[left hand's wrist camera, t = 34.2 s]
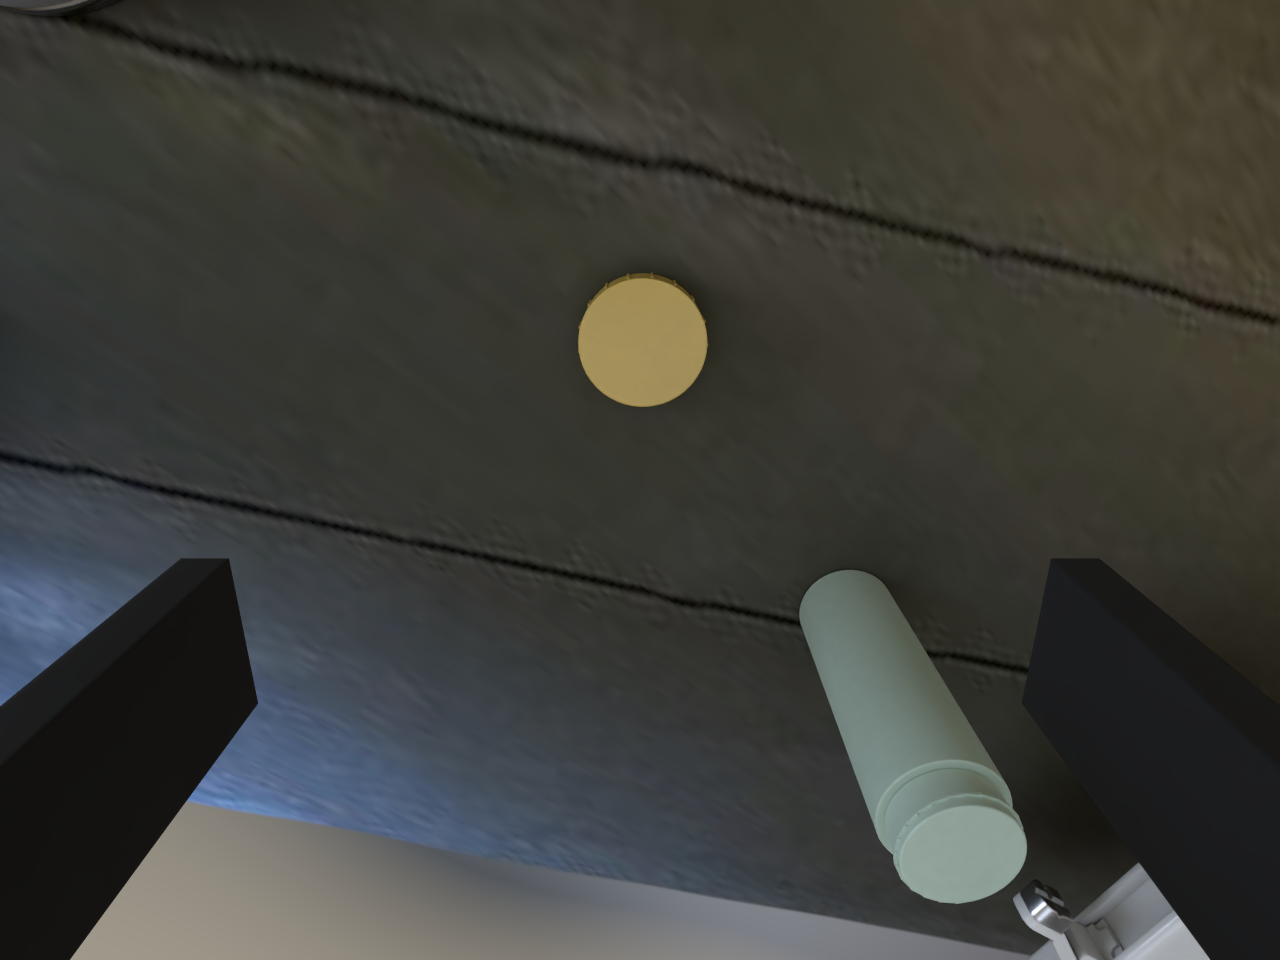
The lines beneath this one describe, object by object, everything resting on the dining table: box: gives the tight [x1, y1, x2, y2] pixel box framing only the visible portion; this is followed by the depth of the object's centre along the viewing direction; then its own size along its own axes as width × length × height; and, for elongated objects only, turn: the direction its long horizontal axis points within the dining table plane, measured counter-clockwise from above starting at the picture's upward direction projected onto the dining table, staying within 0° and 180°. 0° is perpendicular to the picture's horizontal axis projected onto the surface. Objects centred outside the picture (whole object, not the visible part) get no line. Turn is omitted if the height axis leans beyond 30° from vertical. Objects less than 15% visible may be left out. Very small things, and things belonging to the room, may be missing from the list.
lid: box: [578, 272, 708, 407], centre depth 38 cm, size 6×6×2 cm
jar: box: [799, 570, 1027, 904], centre depth 37 cm, size 5×5×18 cm
